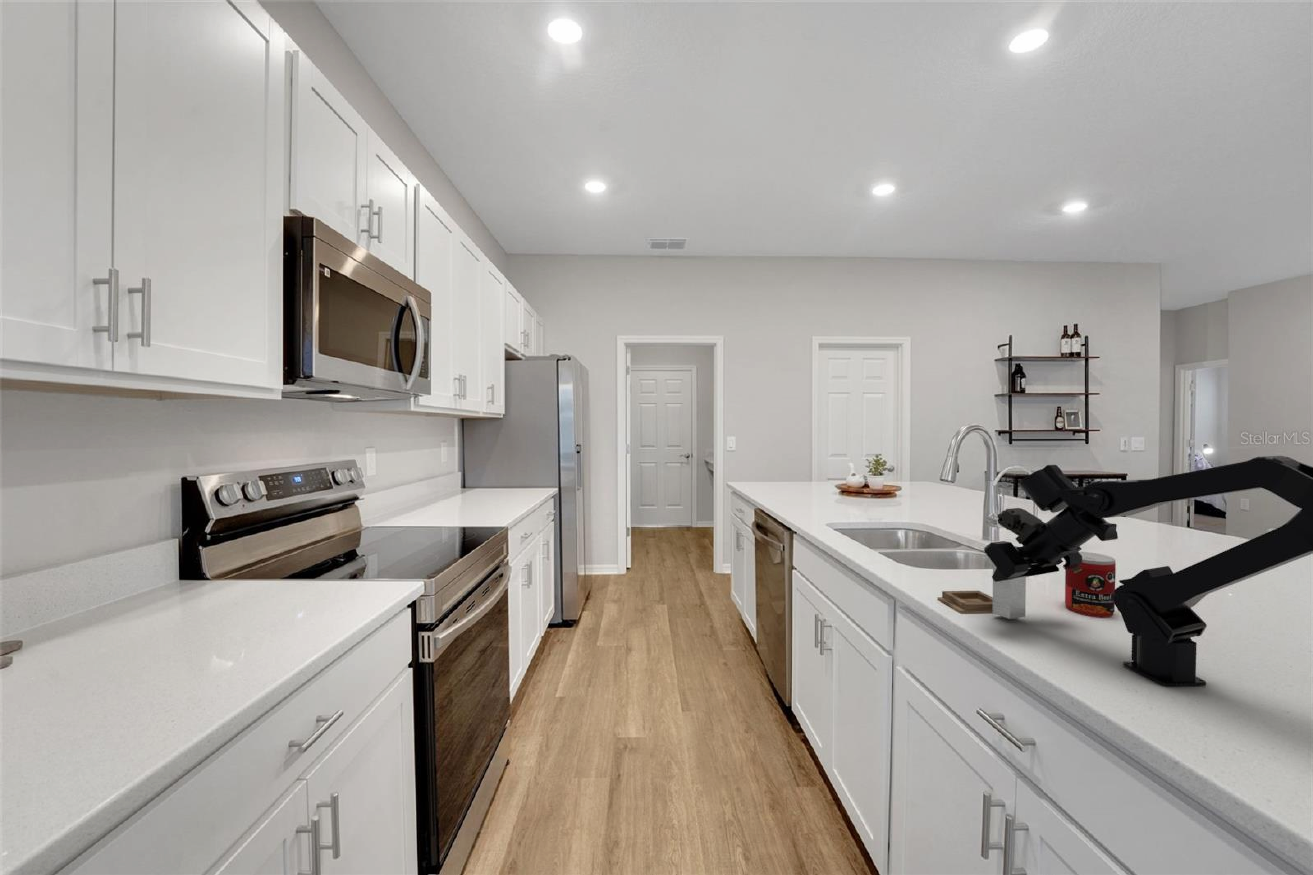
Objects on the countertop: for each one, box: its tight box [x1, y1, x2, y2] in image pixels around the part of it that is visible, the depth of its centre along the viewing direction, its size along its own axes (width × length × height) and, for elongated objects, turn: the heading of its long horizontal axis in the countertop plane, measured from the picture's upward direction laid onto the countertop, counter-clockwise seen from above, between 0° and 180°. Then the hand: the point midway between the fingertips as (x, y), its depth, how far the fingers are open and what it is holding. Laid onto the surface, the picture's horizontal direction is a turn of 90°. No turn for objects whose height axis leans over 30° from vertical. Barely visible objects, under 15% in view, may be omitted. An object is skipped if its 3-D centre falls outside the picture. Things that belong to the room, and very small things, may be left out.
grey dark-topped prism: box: [992, 545, 1027, 620], centre depth 98 cm, size 4×4×13 cm
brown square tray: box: [937, 590, 994, 614], centre depth 105 cm, size 8×10×2 cm
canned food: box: [1064, 551, 1117, 618], centre depth 102 cm, size 8×8×11 cm
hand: (1002, 578), depth 99 cm, fingers closed on grey dark-topped prism, 4 cm apart
